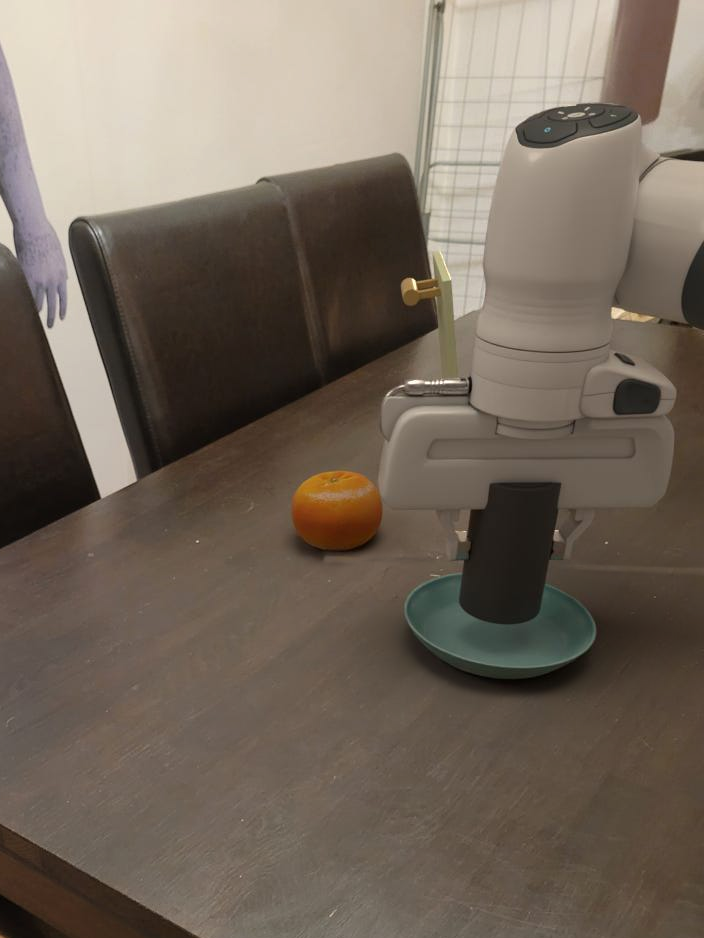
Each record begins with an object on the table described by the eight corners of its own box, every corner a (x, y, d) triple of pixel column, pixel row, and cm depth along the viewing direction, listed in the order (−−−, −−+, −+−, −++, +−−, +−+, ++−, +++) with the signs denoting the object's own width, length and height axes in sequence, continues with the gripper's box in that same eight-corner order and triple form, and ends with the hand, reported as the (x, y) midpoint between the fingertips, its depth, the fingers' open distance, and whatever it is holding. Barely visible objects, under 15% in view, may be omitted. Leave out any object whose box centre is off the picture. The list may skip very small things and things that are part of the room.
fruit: (317, 479, 97) (327, 433, 89) (389, 522, 95) (406, 478, 88) (271, 539, 94) (278, 497, 87) (345, 584, 92) (359, 545, 85)
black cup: (529, 584, 78) (551, 456, 72) (549, 624, 72) (575, 489, 66) (452, 585, 78) (468, 456, 72) (466, 625, 73) (485, 490, 67)
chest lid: (440, 250, 99) (397, 258, 99) (451, 279, 87) (402, 287, 88) (450, 395, 106) (410, 401, 107) (462, 439, 95) (417, 445, 96)
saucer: (566, 717, 68) (573, 687, 67) (373, 664, 75) (376, 635, 73) (607, 622, 79) (613, 594, 78) (435, 582, 85) (438, 556, 84)
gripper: (388, 393, 63) (374, 577, 71) (702, 390, 62) (655, 576, 70) (377, 365, 68) (366, 539, 76) (667, 362, 68) (627, 537, 75)
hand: (507, 557), depth 73 cm, fingers closed on black cup, 6 cm apart
